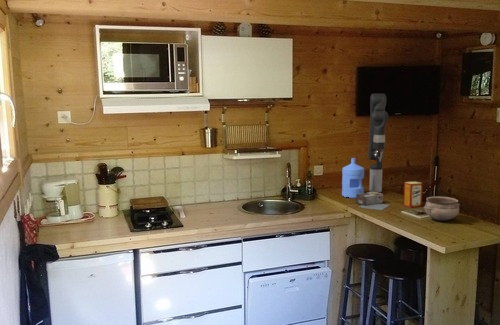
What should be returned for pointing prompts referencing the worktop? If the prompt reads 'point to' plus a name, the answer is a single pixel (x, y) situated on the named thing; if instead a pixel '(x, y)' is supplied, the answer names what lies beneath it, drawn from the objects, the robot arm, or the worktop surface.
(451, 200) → the cooking pot
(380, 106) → the robot arm
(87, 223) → the worktop surface
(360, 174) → the water jug
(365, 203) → the coffee box
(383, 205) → the mat
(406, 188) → the baking soda box
